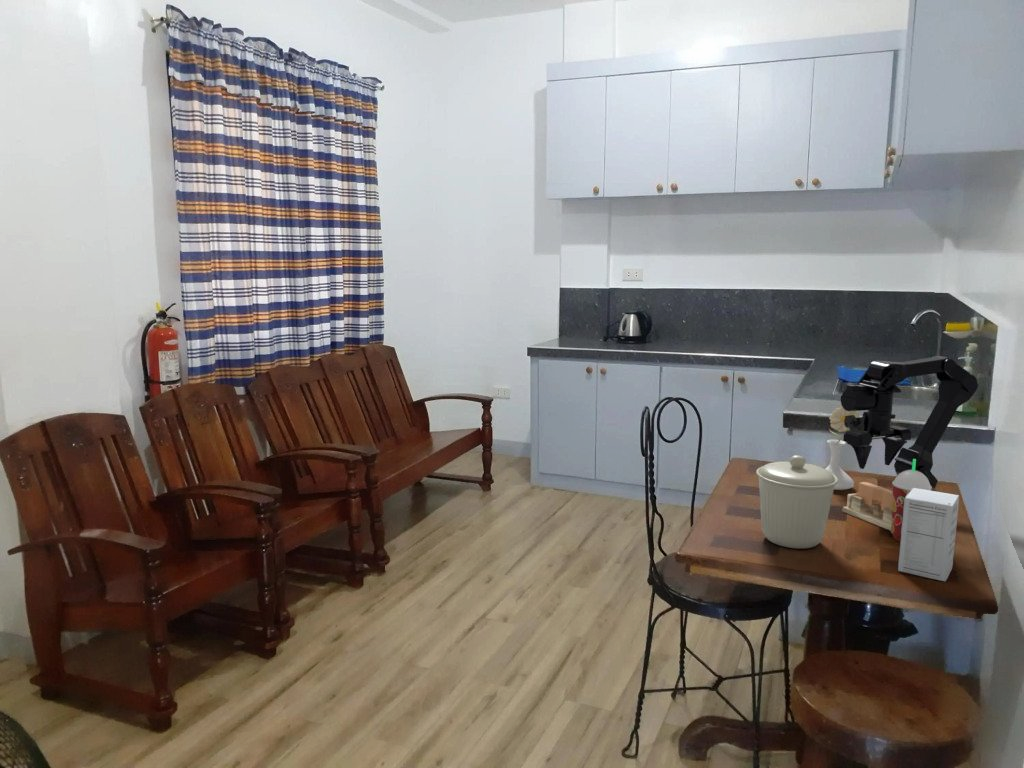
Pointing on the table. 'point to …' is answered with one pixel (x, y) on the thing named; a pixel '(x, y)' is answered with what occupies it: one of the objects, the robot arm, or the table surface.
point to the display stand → (868, 511)
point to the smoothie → (901, 490)
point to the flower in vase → (839, 448)
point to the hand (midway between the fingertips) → (874, 466)
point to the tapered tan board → (875, 495)
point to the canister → (795, 502)
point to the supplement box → (928, 533)
